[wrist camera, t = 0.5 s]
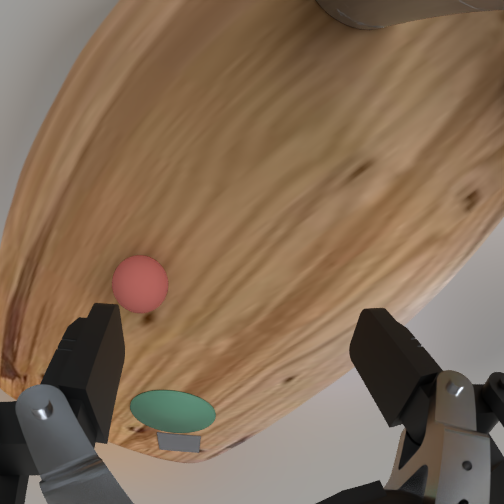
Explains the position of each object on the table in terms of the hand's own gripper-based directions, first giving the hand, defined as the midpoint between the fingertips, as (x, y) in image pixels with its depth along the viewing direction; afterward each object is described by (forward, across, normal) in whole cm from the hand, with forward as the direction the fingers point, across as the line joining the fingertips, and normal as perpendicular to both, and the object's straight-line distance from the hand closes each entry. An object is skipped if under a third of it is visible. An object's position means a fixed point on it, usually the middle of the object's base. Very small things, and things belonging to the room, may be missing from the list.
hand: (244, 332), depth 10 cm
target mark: (+24, +5, +36) cm, 44 cm away
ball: (+18, +7, +9) cm, 21 cm away
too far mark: (+26, +5, +48) cm, 55 cm away
